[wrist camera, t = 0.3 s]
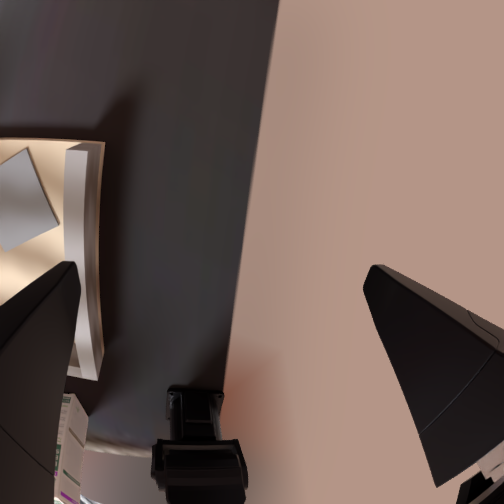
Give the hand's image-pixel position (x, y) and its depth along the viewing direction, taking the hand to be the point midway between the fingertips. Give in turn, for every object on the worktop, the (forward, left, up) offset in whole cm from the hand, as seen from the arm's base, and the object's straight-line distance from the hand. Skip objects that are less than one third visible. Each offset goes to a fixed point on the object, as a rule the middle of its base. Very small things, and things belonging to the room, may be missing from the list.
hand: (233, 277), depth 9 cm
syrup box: (-31, +15, -15) cm, 37 cm away
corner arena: (-9, +14, -15) cm, 22 cm away
